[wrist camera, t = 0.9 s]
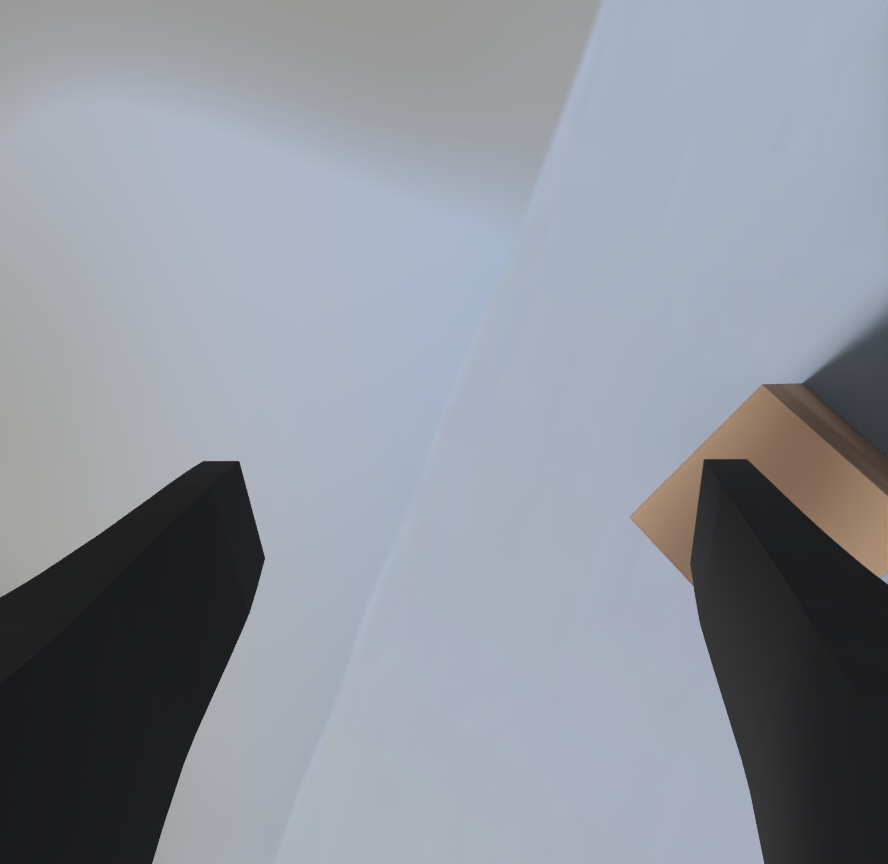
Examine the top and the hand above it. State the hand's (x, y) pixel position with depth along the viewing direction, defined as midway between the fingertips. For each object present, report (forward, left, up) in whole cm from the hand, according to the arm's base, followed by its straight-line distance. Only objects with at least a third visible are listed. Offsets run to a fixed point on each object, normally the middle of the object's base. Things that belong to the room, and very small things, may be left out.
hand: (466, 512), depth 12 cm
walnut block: (-3, -1, -13) cm, 13 cm away
